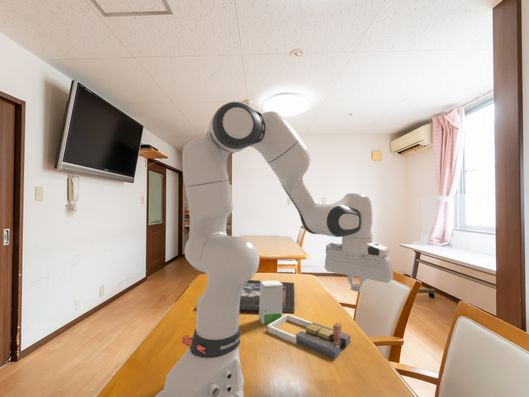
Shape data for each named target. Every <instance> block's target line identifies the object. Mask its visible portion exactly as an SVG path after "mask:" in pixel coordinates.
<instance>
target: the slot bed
mask: <svg viewBox="0 0 529 397" xmlns="http://www.w3.org/2000/svg"><path fill="white" fill-rule="evenodd" d="M312 324H315V325H318V326H321V327H322V328H326V329H329V330H332V331H333V328H330V327H327V326H325V325H322V324H319V323H317V322H314V321H313V322H312ZM295 336H296V337H297V343H296V344H298V345H301V346H302V347H303V346H304V347H306V348H307V349H310V350H312V351H315V352H316V353H319V354H321V355H324V356H327V357H328V358H331V359H334V360H336V359H337V358H338V357H339V356H340V355H341V353H343V351H344V350H345V349H346V348H347V347H348V346H349V345H350V343H351V335H350V334H348V333H346V332H342V331H341V339H342V345H341V347H340V346H339V345H336V344H334V343H331V342H329V341H326V340H323V339H321V338H318V337H316V336H313V335H311V334H308V333H306V331H302V330H300V331H299V332H298V333H296V334H295Z"/></svg>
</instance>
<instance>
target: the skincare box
mask: <svg viewBox="0 0 529 397" xmlns="http://www.w3.org/2000/svg"><path fill="white" fill-rule="evenodd" d="M259 281H260V302H259V313H258V321H259V322H260V323H261V325H265V324H266V325H267V324H270V323H272V322H274V321H276V320H277V319H279V318H281V317H283V313H282V301H283V284H282V283H280V282H281V281H279V280H259Z"/></svg>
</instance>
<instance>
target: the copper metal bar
mask: <svg viewBox="0 0 529 397" xmlns="http://www.w3.org/2000/svg"><path fill="white" fill-rule="evenodd" d="M332 329H333V343H334V344H336V345H339V346H340V347H341V345H342V339H341V332H342V324H341V323H337V322H335V323H334V325H333V327H332Z"/></svg>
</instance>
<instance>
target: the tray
mask: <svg viewBox="0 0 529 397" xmlns="http://www.w3.org/2000/svg"><path fill="white" fill-rule="evenodd" d="M287 321H289V322H291V323H295V324H298V325H300V326H302V327H305V328H306V327H307V326H308V325H310V324H311V323H313V322H312V321H309V320H306V319H304V318H300V317H298V316H295V315H292V314H290V313H285V314H284V315H282V317H281V318H279V319H277V320H276V321H274V322H272V323H268V324H266V332H268V333H269V334H272V335H274V336H277V337H279V338H282V339H283V340H286V341H288V342H291V343H294V344H298V343H297V337H296V334H295V335H294V334H292V333H291V332H290V333H289V332H287V331H285V330H283V329H280V328H277V327H279V326H280V325H283V324H284V323H286V322H287Z"/></svg>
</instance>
